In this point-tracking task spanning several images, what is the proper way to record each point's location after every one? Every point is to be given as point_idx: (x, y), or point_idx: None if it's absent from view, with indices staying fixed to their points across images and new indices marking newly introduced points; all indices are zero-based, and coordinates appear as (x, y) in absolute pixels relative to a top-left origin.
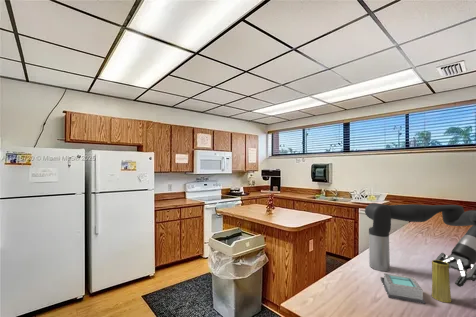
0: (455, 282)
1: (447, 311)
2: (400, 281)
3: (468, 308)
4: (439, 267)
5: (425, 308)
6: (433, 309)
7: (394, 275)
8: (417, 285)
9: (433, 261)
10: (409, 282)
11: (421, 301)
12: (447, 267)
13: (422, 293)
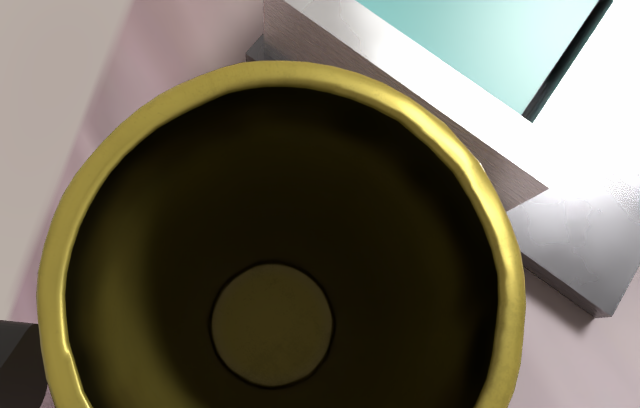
0: (25, 326)
1: (94, 133)
2: (523, 15)
3: (48, 401)
4: (200, 126)
5: (193, 3)
6: (160, 50)
7: (634, 21)
8: (361, 32)
9: (490, 259)
10: (486, 89)
11: (263, 39)
12: (66, 282)
13: (265, 13)
